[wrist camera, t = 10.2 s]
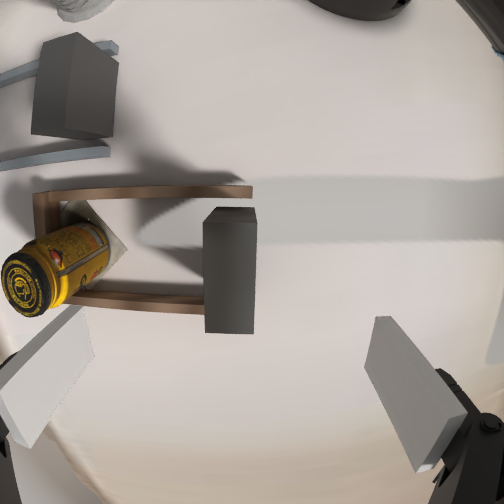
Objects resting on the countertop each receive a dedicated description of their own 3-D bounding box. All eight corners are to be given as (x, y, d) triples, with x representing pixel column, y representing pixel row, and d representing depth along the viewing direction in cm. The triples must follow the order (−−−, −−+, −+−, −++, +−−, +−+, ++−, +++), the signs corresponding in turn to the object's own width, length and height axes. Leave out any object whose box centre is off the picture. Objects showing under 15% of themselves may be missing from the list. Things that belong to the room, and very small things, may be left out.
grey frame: (121, 46, 24) (82, 11, 15) (112, 156, 27) (63, 154, 18) (-18, 89, 24) (-64, 81, 15) (-25, 176, 27) (-73, 183, 18)
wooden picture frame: (254, 185, 28) (258, 192, 19) (251, 307, 31) (252, 356, 22) (48, 191, 28) (-6, 201, 19) (59, 295, 31) (16, 329, 22)
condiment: (90, 290, 31) (31, 342, 20) (44, 236, 30) (-26, 266, 18) (128, 249, 30) (70, 291, 18) (78, 190, 28) (4, 204, 17)
